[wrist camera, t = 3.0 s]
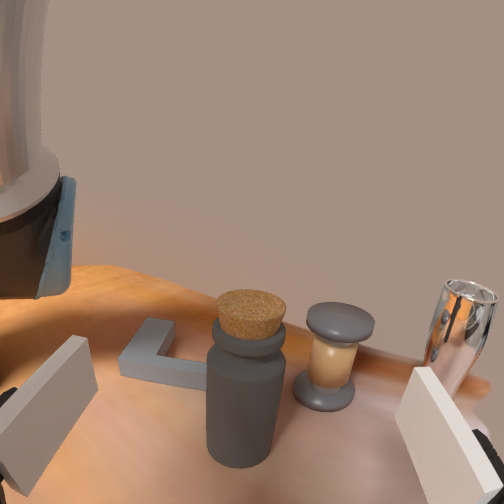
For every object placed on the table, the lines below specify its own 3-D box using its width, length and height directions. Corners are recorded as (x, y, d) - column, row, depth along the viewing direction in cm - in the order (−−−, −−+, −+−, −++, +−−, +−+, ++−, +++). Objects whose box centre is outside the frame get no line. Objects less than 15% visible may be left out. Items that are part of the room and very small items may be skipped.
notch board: (120, 375, 33) (117, 358, 33) (148, 332, 44) (147, 317, 43) (267, 397, 33) (269, 380, 32) (268, 347, 43) (270, 331, 42)
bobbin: (295, 411, 31) (311, 331, 28) (292, 372, 38) (304, 299, 35) (357, 411, 31) (383, 335, 28) (346, 374, 37) (364, 304, 35)
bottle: (204, 425, 28) (205, 285, 24) (263, 422, 29) (281, 285, 25) (209, 470, 22) (210, 323, 18) (276, 465, 24) (306, 321, 19)
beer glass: (438, 385, 34) (476, 278, 30) (461, 418, 28) (513, 302, 23) (394, 389, 34) (431, 276, 30) (415, 427, 27) (466, 303, 23)
